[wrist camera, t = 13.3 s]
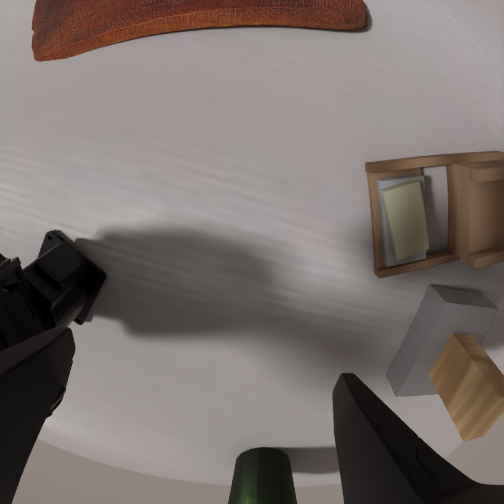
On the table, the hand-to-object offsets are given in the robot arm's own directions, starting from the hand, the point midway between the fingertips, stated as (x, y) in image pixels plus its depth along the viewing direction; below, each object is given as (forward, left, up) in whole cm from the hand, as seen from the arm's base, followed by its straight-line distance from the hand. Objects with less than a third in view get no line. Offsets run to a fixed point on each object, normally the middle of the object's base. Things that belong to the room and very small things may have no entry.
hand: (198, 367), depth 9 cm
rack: (+12, -12, -13) cm, 21 cm away
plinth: (+4, -20, -13) cm, 25 cm away
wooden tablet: (+13, +15, -14) cm, 24 cm away
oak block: (+4, -20, -10) cm, 23 cm away
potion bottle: (-21, -20, -13) cm, 32 cm away
